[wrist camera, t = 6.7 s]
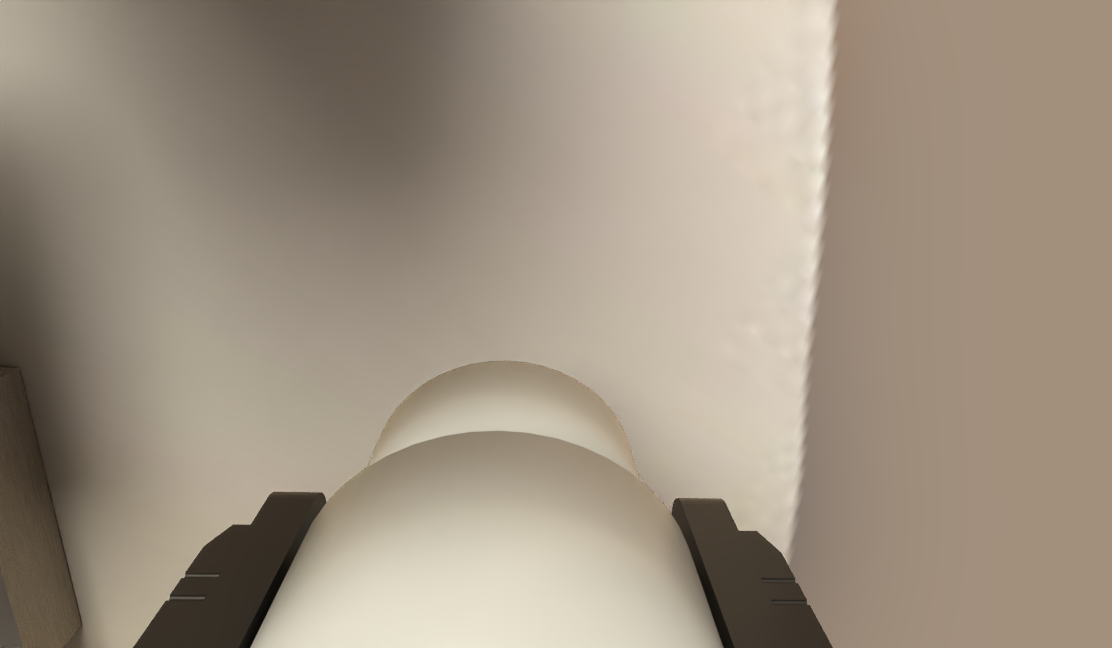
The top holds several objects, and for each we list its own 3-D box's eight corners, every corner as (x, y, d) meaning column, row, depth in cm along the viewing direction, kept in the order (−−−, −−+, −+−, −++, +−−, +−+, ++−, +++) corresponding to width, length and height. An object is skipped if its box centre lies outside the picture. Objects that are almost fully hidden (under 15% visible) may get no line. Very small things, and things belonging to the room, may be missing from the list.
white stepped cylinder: (669, 343, 12) (893, 752, 4) (641, 603, 13) (768, 1179, 6) (340, 334, 11) (25, 755, 4) (359, 601, 13) (163, 1201, 6)
